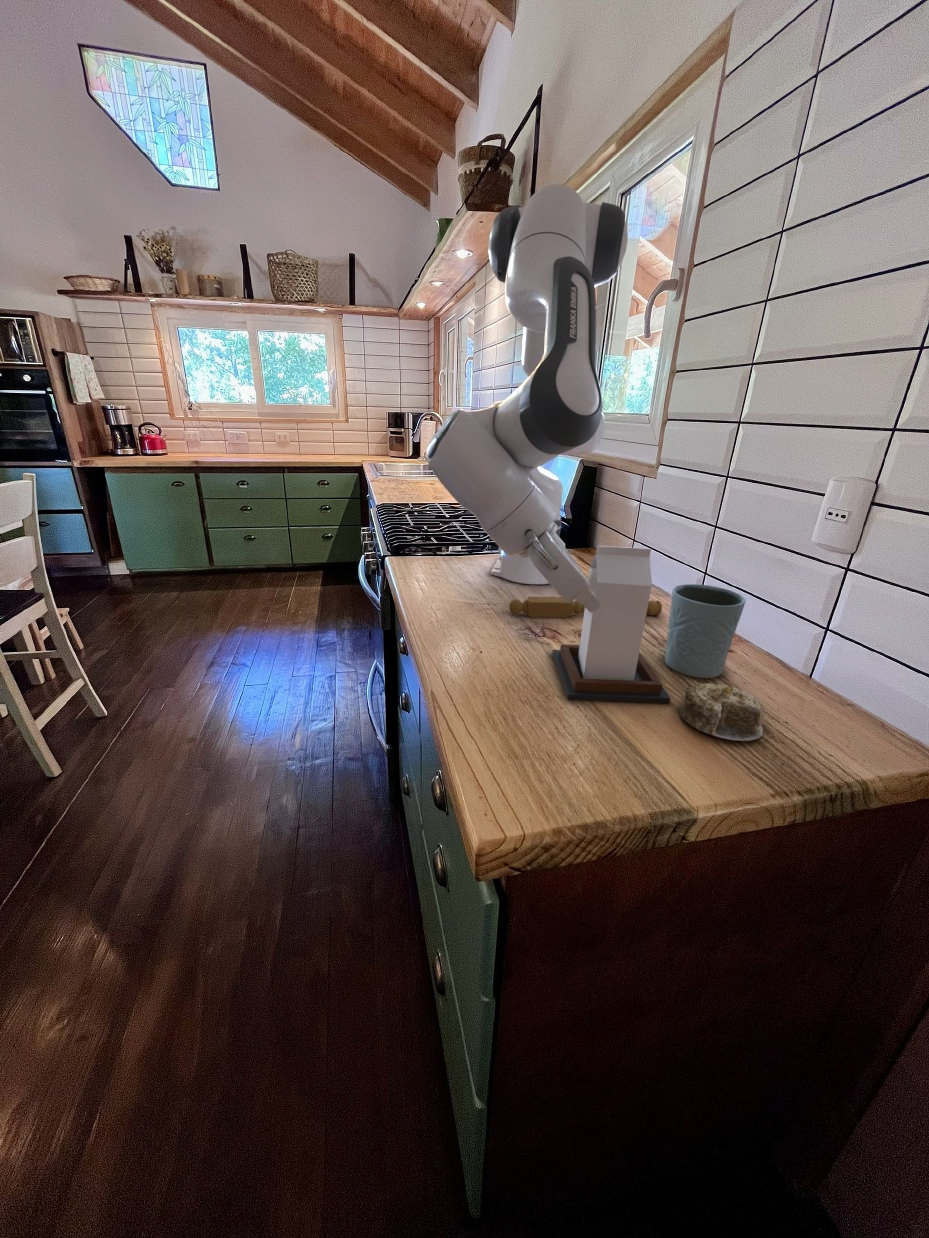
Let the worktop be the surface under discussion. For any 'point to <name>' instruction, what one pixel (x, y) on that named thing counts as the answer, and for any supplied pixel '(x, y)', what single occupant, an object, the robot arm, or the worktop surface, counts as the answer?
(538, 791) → the worktop surface
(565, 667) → the shallow square tray
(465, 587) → the worktop surface
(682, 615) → the blue plant pot
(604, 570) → the milk carton
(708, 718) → the cake
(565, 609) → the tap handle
